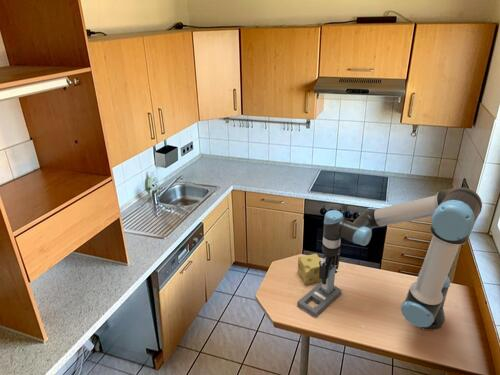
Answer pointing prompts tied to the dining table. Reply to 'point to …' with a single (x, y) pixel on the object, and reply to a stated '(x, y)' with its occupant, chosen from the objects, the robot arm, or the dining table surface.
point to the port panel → (318, 300)
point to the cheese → (309, 268)
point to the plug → (330, 280)
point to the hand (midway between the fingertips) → (327, 285)
